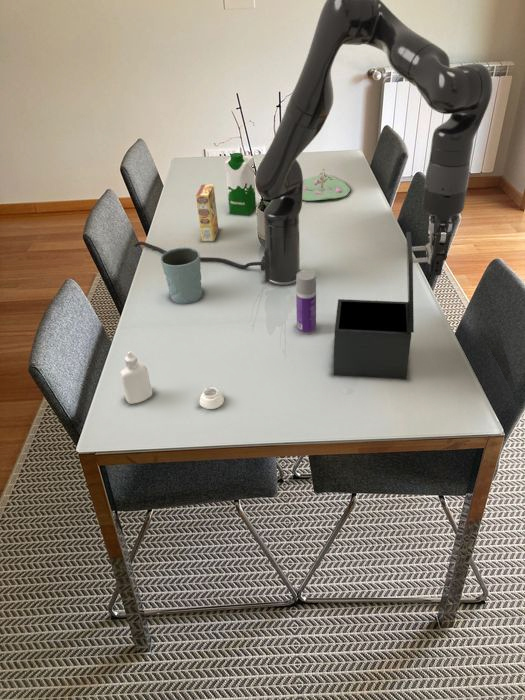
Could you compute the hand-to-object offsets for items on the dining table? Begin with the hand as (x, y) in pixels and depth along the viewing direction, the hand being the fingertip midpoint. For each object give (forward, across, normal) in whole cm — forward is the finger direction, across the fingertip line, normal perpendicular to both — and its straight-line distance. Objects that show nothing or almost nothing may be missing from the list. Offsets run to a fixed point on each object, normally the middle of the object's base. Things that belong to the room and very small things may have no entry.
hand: (434, 266), depth 119 cm
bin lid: (+4, 0, -5) cm, 6 cm away
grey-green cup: (+25, -24, -60) cm, 70 cm away
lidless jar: (+25, +18, -43) cm, 53 cm away
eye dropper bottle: (+25, +18, -59) cm, 67 cm away
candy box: (+25, -61, -63) cm, 91 cm away
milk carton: (+25, -81, -56) cm, 101 cm away
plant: (+25, -101, -31) cm, 108 cm away
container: (+25, -11, -26) cm, 38 cm away
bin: (+24, 0, -11) cm, 27 cm away
